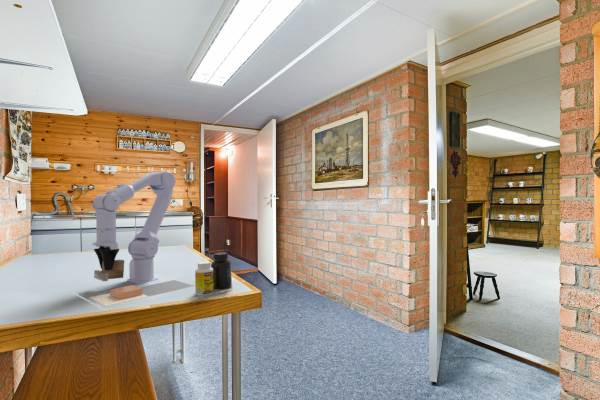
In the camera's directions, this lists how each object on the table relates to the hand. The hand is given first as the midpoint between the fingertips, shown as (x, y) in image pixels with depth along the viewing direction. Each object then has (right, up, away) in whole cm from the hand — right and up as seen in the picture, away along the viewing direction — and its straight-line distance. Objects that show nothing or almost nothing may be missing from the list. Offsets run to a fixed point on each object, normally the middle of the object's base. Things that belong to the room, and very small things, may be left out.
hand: (106, 269), depth 109 cm
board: (+15, -7, -3) cm, 17 cm away
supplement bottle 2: (+39, -7, +1) cm, 40 cm away
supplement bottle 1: (+35, -7, -6) cm, 37 cm away
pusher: (+1, -3, +1) cm, 4 cm away
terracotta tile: (+11, -7, -8) cm, 15 cm away
